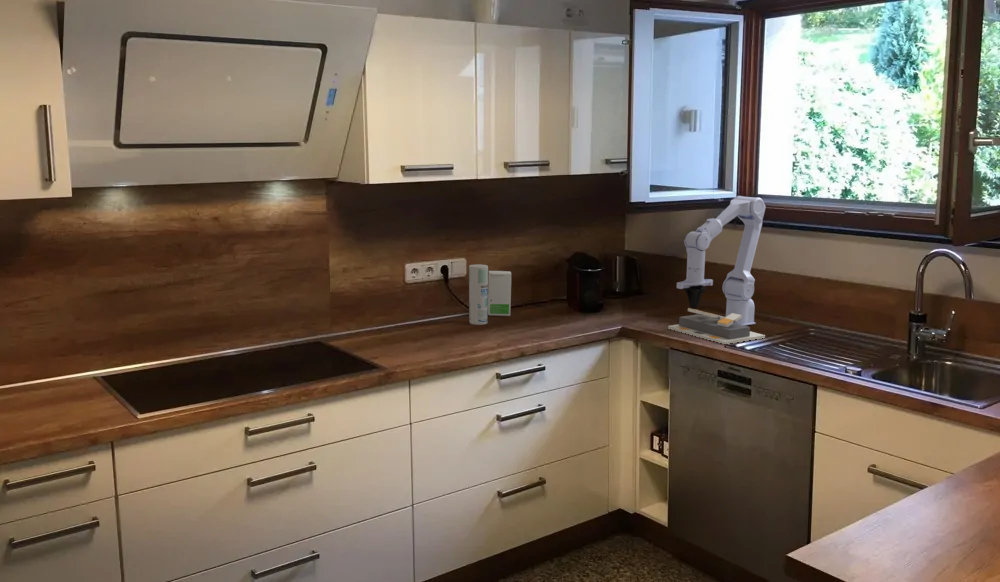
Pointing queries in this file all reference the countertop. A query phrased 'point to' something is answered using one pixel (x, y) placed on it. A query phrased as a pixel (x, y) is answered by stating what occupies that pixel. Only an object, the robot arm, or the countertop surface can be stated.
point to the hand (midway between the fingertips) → (693, 308)
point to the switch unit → (714, 329)
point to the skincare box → (499, 293)
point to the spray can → (478, 294)
